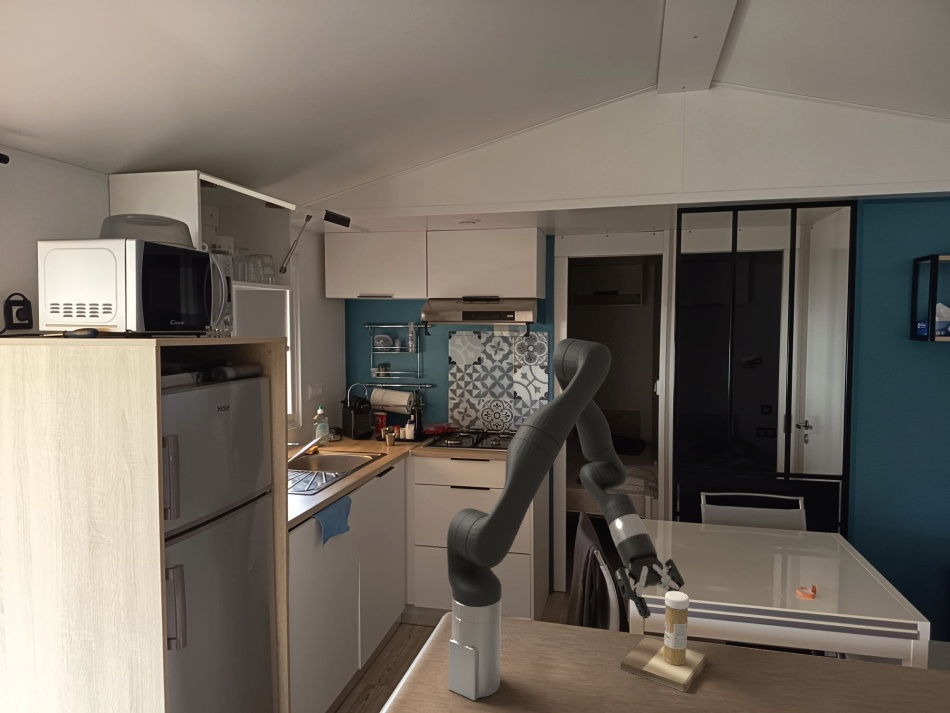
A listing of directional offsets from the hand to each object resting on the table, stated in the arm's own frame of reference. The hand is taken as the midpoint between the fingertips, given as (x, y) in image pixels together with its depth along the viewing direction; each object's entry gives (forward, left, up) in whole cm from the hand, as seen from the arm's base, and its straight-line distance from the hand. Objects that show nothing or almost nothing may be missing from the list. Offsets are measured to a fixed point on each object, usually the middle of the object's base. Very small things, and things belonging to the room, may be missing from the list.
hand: (664, 613), depth 134 cm
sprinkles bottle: (-2, -3, -8) cm, 9 cm away
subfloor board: (-2, -1, -10) cm, 10 cm away
